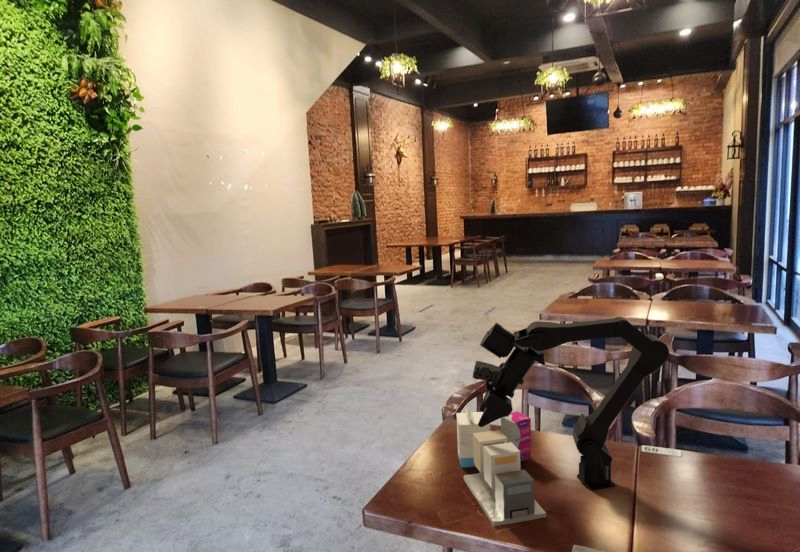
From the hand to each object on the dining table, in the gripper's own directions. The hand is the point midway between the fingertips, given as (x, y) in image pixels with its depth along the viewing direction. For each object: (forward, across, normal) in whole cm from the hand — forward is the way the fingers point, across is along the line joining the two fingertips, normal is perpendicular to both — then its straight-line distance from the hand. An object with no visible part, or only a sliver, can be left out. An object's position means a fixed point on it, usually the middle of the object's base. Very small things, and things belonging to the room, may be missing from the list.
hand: (480, 418), depth 128 cm
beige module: (+8, +2, +8) cm, 12 cm away
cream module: (+6, +9, +10) cm, 15 cm away
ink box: (+14, -9, +7) cm, 18 cm away
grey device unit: (+10, +9, +13) cm, 18 cm away
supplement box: (+8, -11, +16) cm, 21 cm away
